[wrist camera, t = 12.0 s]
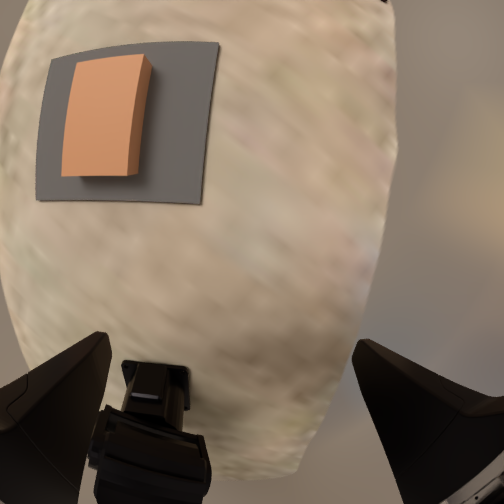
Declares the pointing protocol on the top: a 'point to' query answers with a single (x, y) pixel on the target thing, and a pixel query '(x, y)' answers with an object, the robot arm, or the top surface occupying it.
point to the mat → (153, 131)
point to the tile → (106, 116)
